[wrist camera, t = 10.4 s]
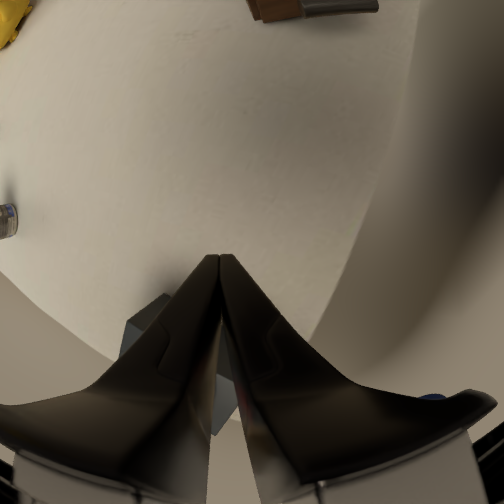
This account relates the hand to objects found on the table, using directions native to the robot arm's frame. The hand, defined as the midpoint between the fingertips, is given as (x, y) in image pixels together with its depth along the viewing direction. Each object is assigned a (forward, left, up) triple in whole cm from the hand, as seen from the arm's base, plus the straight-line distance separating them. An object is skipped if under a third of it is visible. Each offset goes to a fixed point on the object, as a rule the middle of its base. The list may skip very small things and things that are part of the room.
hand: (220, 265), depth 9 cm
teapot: (+60, -17, -13) cm, 64 cm away
